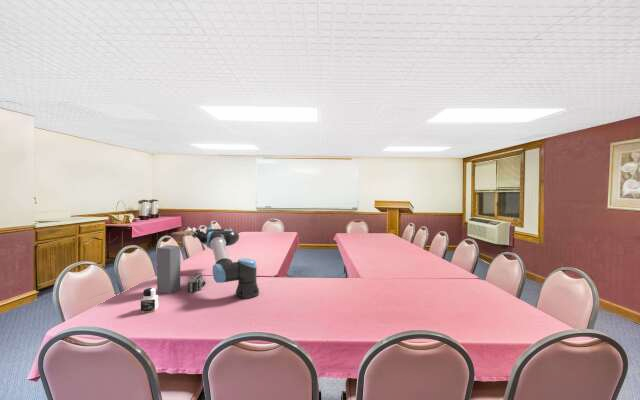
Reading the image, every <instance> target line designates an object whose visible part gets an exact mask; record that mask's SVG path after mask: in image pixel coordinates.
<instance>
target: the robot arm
mask: <svg viewBox="0 0 640 400" xmlns="http://www.w3.org/2000/svg"><path fill="white" fill-rule="evenodd" d="M190 230H192V231H193V232H195V233H194V235H190V236H191V237H192V238H193V239H198V240H199V242H200V243H201V244H203V245H204V246H205V247H207V248H208V249H210V250H212V252H213V253H212V254H213V256H214V260H215V263H214V264H213V265H212V275H213V276H212V277H213V280H214V281H215V283H217V284H218V283H220V284H223V283H230V282H236V281H238V282H237V283H238V284H237V285H236V286H237V287H236V290H235V297H236V298H238V299H243V300H244V299H252V298H256V297H258V296H259V295H260V289H259V286H258V283H257V268H258V266H257V262H256V260H255V259H251V258H239V259H238V260H237V261H234V262H233V260H232V259H230V258H229V255H228V252H227V248H226V247H229V246H233V245H235V244H236V243H238V241H239V240H240V234H239V233H238V232H237V231H236V230H233V228H215V227H214V226H208V227H206V229H205V232H204V231H202V230H201V229H197V228H195V227H192V228H191V227H189V226H187V228H186V231H190Z"/></svg>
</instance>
